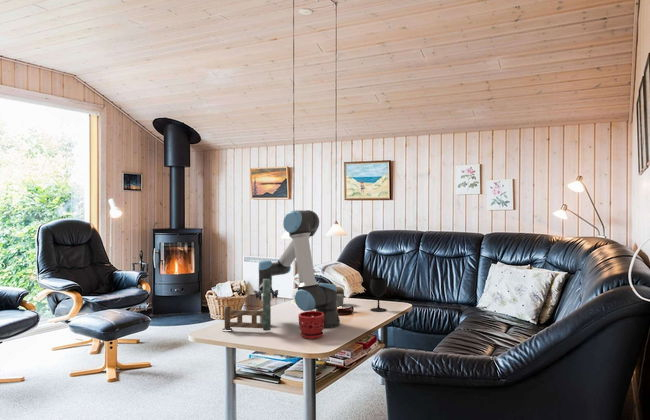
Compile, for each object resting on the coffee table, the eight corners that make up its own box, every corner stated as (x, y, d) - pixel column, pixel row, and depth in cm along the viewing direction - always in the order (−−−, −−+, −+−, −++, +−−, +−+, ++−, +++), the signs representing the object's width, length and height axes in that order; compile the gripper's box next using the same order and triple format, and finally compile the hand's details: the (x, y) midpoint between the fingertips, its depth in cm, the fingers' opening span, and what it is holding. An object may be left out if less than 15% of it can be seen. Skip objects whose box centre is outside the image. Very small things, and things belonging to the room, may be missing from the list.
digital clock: (343, 309, 329) (343, 292, 329) (343, 312, 320) (343, 295, 320) (318, 309, 330) (318, 292, 330) (317, 312, 321) (317, 295, 321)
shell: (344, 306, 339) (344, 288, 339) (327, 306, 339) (327, 288, 339) (344, 303, 350) (343, 285, 349) (327, 303, 350) (327, 285, 350)
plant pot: (299, 333, 269) (299, 310, 269) (324, 333, 269) (324, 310, 268) (297, 340, 256) (297, 316, 256) (324, 340, 256) (323, 316, 255)
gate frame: (269, 324, 289) (269, 310, 289) (225, 332, 273) (225, 317, 273) (265, 323, 293) (264, 309, 293) (221, 330, 277) (220, 315, 277)
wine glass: (389, 309, 327) (389, 278, 327) (382, 312, 319) (382, 280, 318) (374, 307, 333) (374, 277, 333) (367, 310, 324) (367, 279, 324)
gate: (223, 328, 274) (222, 278, 274) (226, 327, 278) (225, 277, 278) (269, 330, 270) (269, 280, 269) (271, 328, 273) (271, 278, 273)
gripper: (281, 296, 291) (283, 304, 268) (250, 297, 289) (250, 306, 265) (280, 283, 291) (283, 290, 268) (250, 284, 289) (250, 291, 265)
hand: (266, 298), depth 267 cm, fingers closed on gate, 4 cm apart
